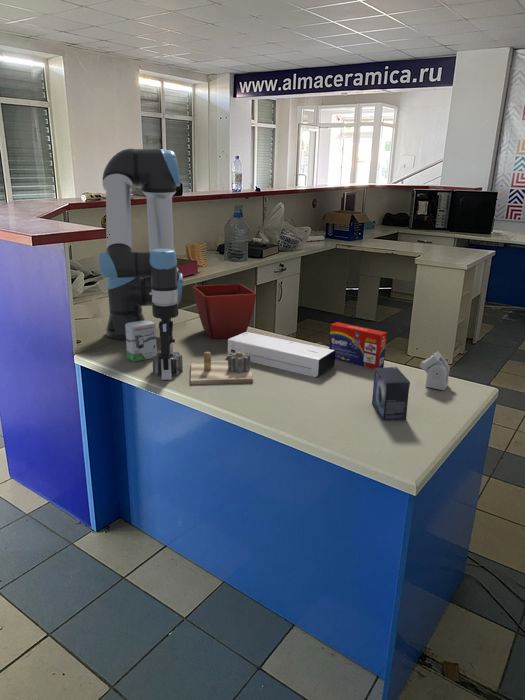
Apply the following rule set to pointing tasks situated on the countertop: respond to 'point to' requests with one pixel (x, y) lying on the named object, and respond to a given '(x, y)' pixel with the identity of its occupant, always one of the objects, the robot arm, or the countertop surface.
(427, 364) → the mechanical component
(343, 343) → the toy box
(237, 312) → the plant pot
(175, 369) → the planet gear
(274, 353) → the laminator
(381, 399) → the small box
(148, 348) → the ink box
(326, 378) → the countertop surface
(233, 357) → the gear puzzle board
